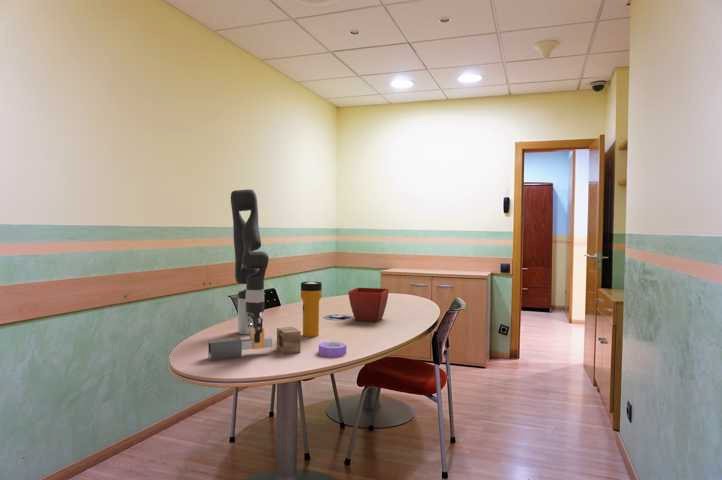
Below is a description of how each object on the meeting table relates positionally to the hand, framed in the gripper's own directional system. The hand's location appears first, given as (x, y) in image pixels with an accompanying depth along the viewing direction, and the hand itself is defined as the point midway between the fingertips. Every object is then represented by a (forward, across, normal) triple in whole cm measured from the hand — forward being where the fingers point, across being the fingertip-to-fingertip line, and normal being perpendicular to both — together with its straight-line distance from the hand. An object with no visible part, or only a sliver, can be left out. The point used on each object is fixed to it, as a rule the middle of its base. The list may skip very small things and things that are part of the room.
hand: (254, 340), depth 204 cm
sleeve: (+6, 0, -12) cm, 13 cm away
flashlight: (+6, -23, +34) cm, 41 cm away
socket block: (+6, 0, +14) cm, 16 cm away
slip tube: (+3, 0, -5) cm, 5 cm away
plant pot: (+6, -48, +79) cm, 92 cm away
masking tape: (+6, +11, +30) cm, 33 cm away
